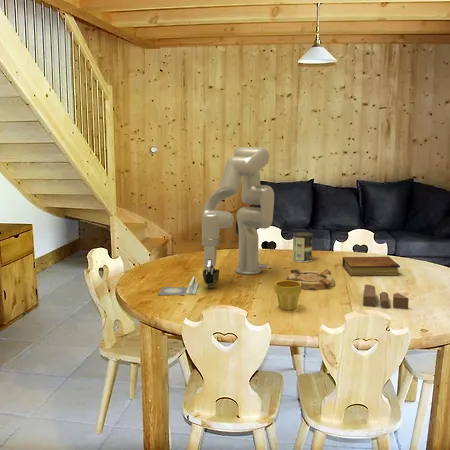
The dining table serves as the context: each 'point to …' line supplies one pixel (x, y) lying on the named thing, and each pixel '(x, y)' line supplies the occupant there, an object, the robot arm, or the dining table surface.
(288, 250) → the dining table surface
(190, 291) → the low wall
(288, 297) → the plant pot
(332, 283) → the ashtray
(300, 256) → the coffee can
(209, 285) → the ornate metal lamp shade
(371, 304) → the wooden block set
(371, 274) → the diary
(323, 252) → the dining table surface
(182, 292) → the rest pad
